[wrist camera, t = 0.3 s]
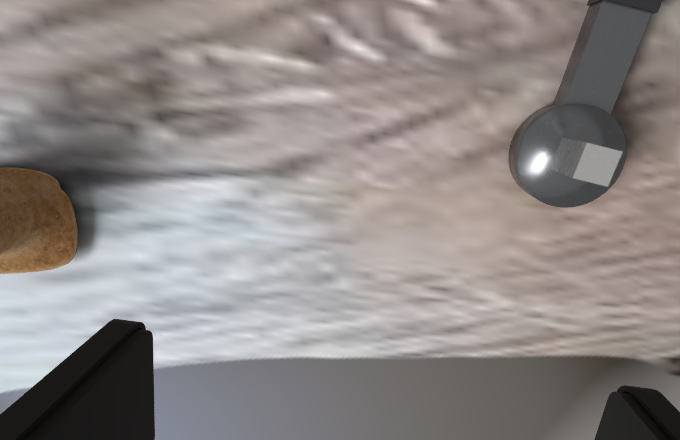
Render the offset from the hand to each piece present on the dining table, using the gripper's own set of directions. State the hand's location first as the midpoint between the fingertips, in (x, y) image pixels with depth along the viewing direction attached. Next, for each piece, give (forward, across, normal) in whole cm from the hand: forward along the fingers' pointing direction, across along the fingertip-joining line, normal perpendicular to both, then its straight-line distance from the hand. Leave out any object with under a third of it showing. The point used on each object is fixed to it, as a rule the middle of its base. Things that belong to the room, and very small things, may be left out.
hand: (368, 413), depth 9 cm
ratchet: (+30, -16, -11) cm, 36 cm away
